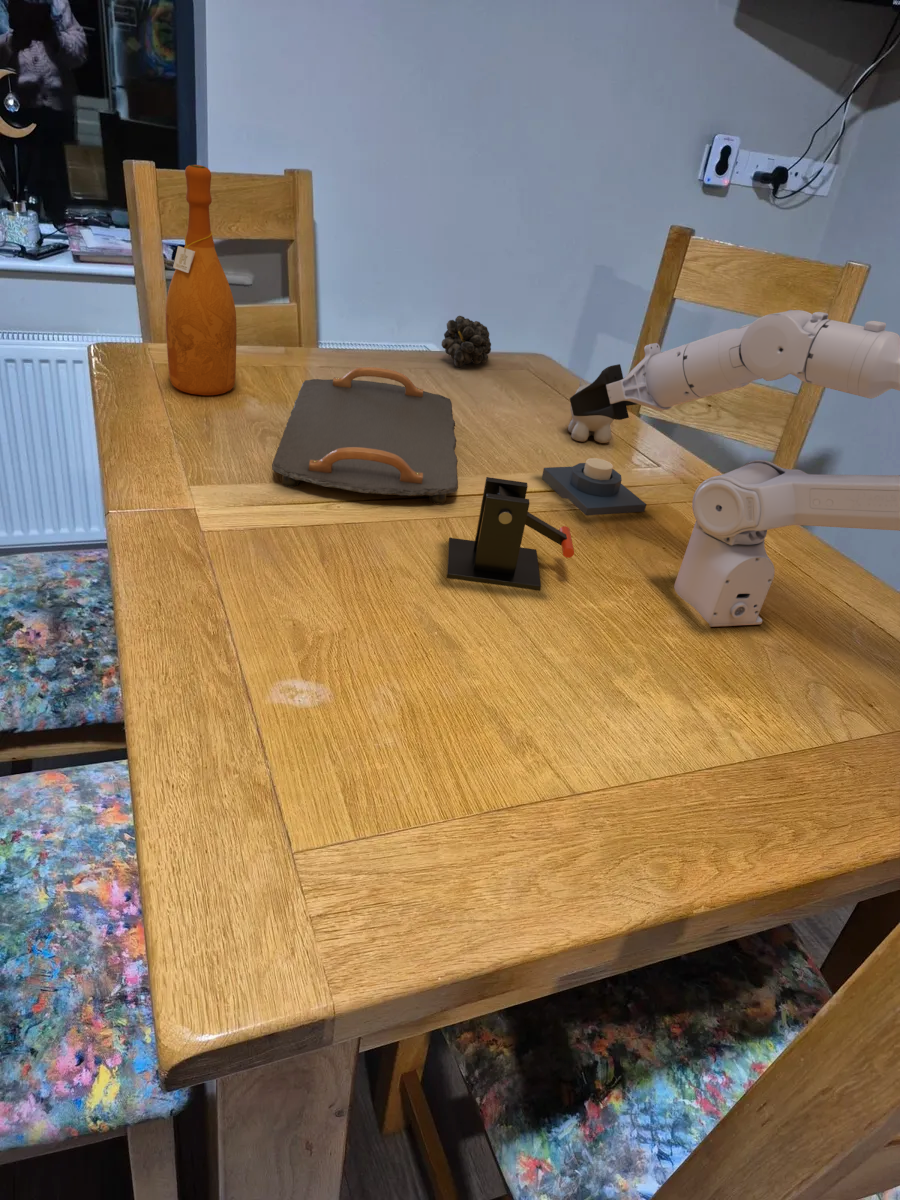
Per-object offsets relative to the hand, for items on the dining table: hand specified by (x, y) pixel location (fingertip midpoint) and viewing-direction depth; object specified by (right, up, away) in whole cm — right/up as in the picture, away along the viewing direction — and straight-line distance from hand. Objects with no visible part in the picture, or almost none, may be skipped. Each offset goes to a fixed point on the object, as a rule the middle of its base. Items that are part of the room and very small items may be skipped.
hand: (593, 401), depth 95 cm
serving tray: (-27, -2, +20) cm, 34 cm away
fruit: (-16, +26, +60) cm, 67 cm away
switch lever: (-8, -15, -7) cm, 19 cm away
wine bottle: (-54, +9, +30) cm, 62 cm away
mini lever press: (-12, -20, -4) cm, 23 cm away
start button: (+3, -6, +14) cm, 16 cm away
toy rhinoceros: (+5, +4, +37) cm, 38 cm away
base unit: (+2, -9, +16) cm, 19 cm away
